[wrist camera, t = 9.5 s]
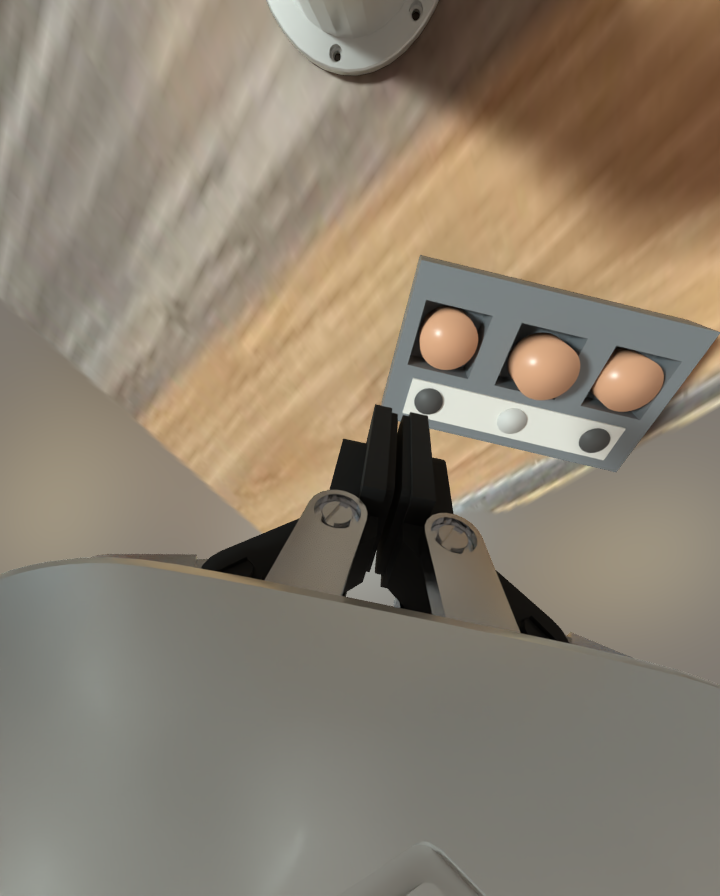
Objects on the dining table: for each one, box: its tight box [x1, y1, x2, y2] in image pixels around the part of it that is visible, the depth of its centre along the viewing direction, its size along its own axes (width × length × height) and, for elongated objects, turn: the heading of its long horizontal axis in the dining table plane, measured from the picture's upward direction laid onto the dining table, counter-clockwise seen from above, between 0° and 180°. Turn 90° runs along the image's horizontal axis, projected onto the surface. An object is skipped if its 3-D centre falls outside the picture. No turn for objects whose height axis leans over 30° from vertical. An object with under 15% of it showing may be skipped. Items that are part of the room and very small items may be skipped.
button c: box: [590, 347, 664, 412], centre depth 32 cm, size 5×5×3 cm
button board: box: [381, 255, 720, 472], centre depth 34 cm, size 14×24×4 cm, turn 78°
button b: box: [507, 332, 580, 400], centre depth 31 cm, size 5×5×3 cm
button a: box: [419, 305, 478, 370], centre depth 32 cm, size 5×5×3 cm
